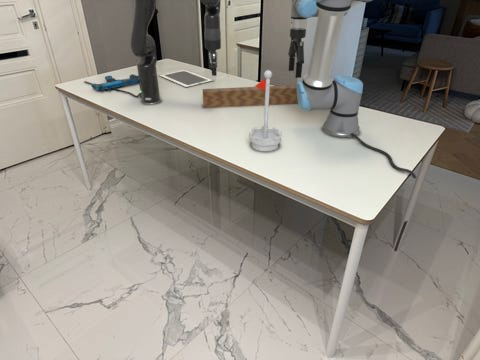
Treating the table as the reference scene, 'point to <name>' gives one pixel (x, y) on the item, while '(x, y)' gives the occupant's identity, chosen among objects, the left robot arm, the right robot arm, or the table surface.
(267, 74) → the flag stand
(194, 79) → the tablet
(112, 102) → the table surface
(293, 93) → the beam
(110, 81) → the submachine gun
